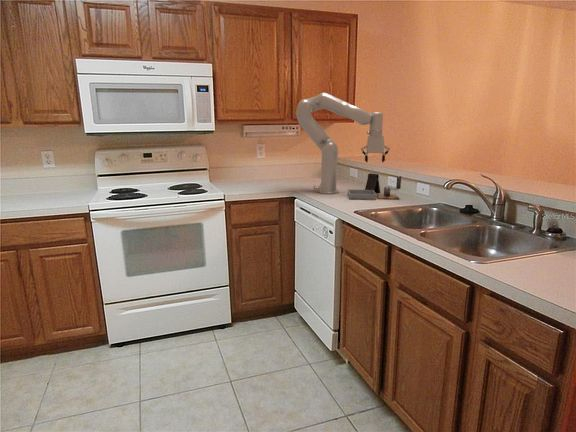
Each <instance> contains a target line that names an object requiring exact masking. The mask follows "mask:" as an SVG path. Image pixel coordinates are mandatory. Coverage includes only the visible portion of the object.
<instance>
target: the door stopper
mask: <svg viewBox="0 0 576 432" xmlns="http://www.w3.org/2000/svg"><path fill="white" fill-rule="evenodd" d="M379 178H380V175H379V173H367V179H366V184H365V188H364V190H374V192H375V193H376V194H382V192H381V187H380V181H379V180H380V179H379Z"/></svg>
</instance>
